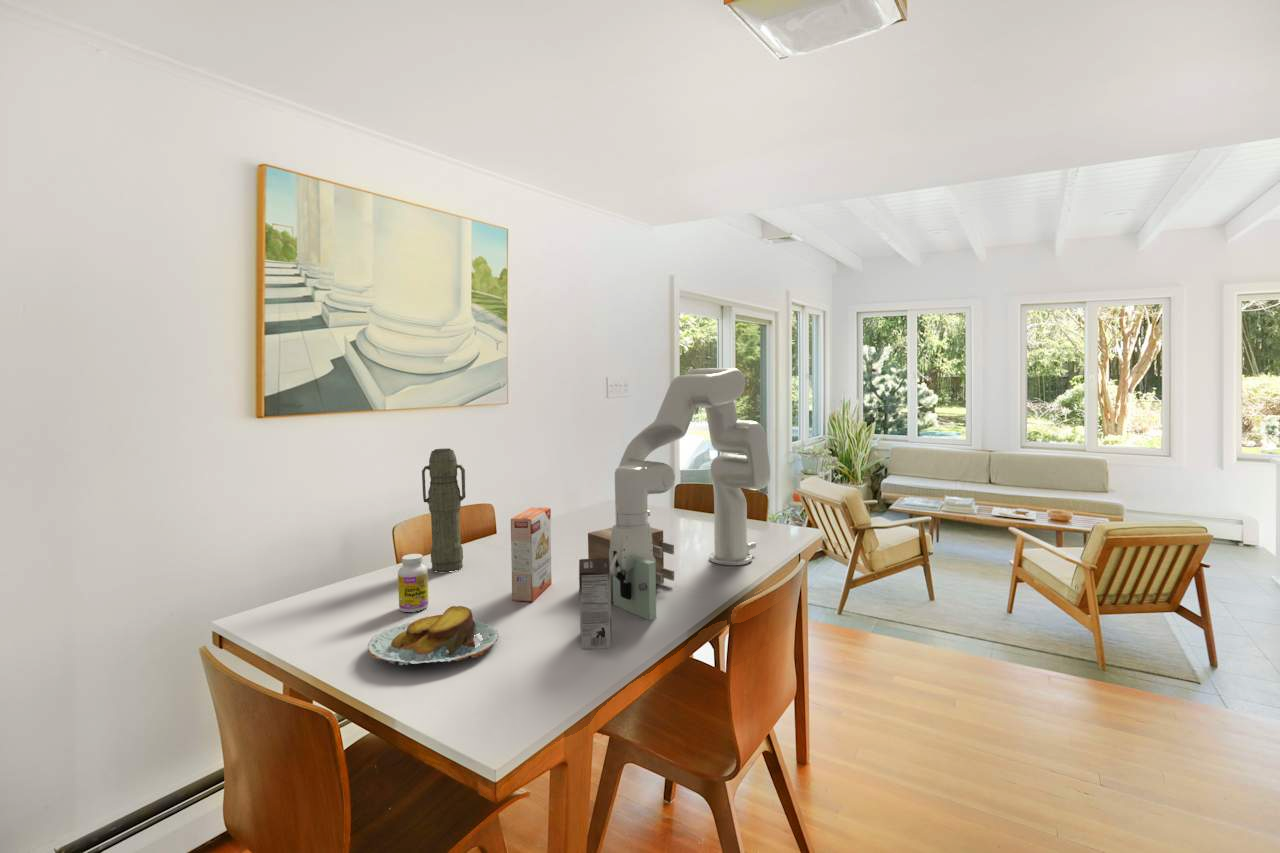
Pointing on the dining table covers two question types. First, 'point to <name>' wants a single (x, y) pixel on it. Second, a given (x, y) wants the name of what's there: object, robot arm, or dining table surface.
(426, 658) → the food on plate
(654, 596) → the door
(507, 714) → the dining table surface
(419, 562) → the supplement bottle
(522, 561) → the cracker box
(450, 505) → the thermos
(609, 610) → the coffee box
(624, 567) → the robot arm
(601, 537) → the cabinet
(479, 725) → the dining table surface
